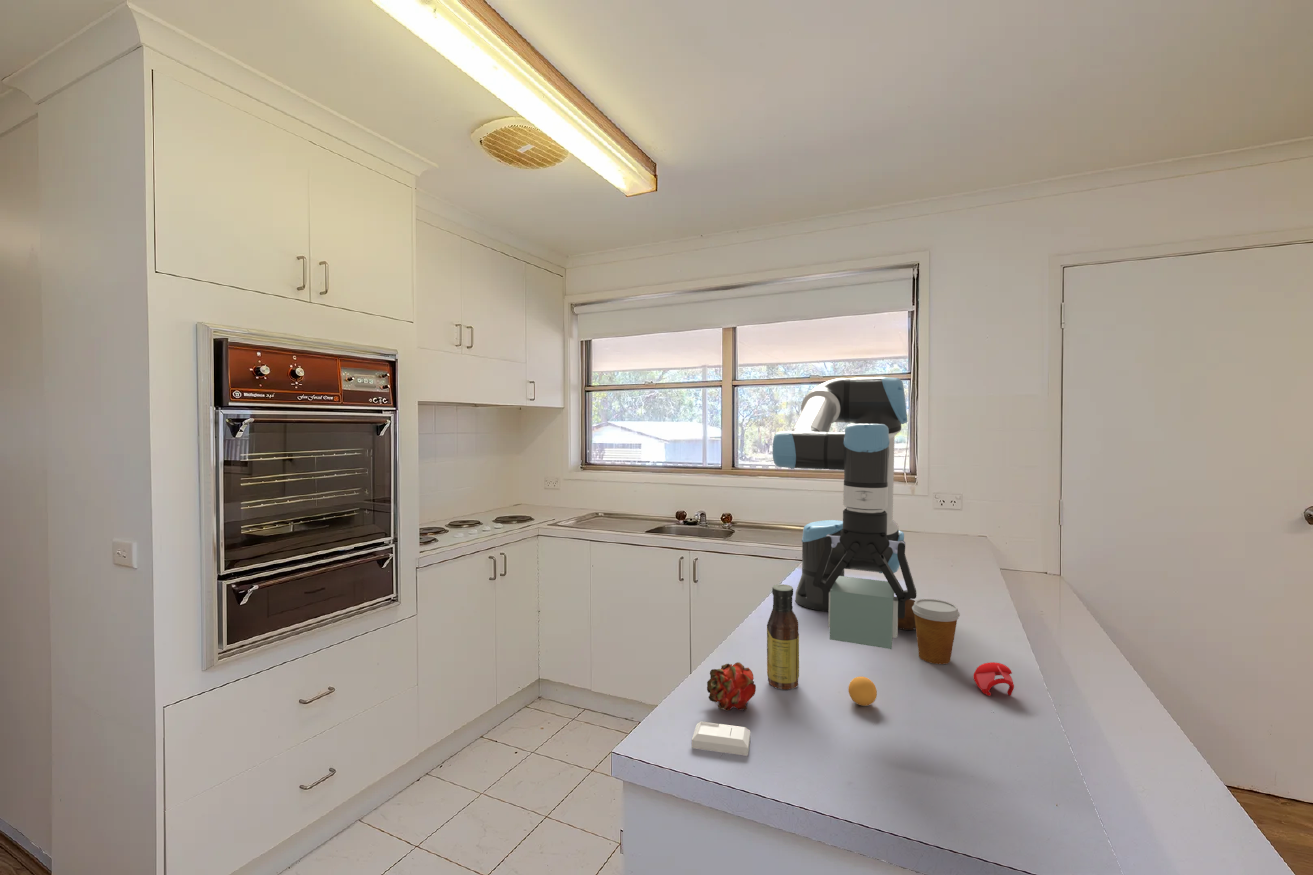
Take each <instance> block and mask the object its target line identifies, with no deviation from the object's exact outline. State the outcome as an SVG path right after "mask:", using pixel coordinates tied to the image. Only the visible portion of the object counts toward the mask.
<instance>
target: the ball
mask: <svg viewBox="0 0 1313 875" xmlns="http://www.w3.org/2000/svg"><path fill="white" fill-rule="evenodd" d="M847 689H848V695H849V697H850V699H851V700H852V702H854V703H855V704H857V705H859V706H862V707H867V706H870V705H872V704H873V703H874V702H875V700H876V699H877V697H878V696H877V694H878V690H877V687H876V685H875V684H874V682H873V681H872V680H871V679H870V678H868V677H866V676H856V677H854V678H852V679H851V681H849V684H848V687H847Z"/></svg>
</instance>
